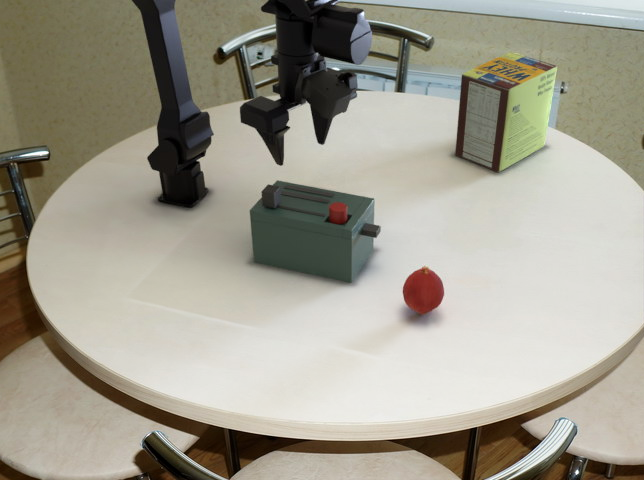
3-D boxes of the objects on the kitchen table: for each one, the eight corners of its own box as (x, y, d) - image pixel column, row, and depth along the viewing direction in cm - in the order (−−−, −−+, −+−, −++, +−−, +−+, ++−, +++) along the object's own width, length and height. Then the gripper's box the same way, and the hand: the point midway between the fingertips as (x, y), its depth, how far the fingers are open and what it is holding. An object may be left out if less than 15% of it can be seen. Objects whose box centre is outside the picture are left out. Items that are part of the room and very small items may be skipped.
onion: (399, 301, 124) (402, 254, 119) (439, 300, 124) (443, 253, 119) (404, 325, 119) (406, 278, 114) (444, 324, 120) (449, 276, 115)
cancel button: (326, 222, 123) (326, 209, 122) (333, 214, 125) (333, 200, 124) (343, 226, 123) (343, 212, 121) (349, 217, 125) (349, 204, 123)
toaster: (253, 262, 131) (249, 209, 125) (280, 230, 138) (277, 179, 132) (366, 286, 127) (367, 233, 121) (387, 252, 134) (389, 200, 128)
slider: (262, 206, 125) (261, 191, 124) (269, 198, 127) (268, 184, 125) (274, 208, 125) (273, 193, 123) (281, 201, 127) (280, 186, 125)
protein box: (545, 146, 163) (558, 65, 153) (498, 173, 154) (509, 89, 144) (500, 130, 168) (510, 50, 158) (453, 155, 160) (460, 72, 149)
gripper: (294, 84, 109) (298, 194, 119) (384, 45, 120) (381, 149, 130) (233, 62, 114) (241, 169, 124) (325, 26, 125) (326, 128, 135)
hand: (300, 154), depth 128 cm, fingers open, 9 cm apart
